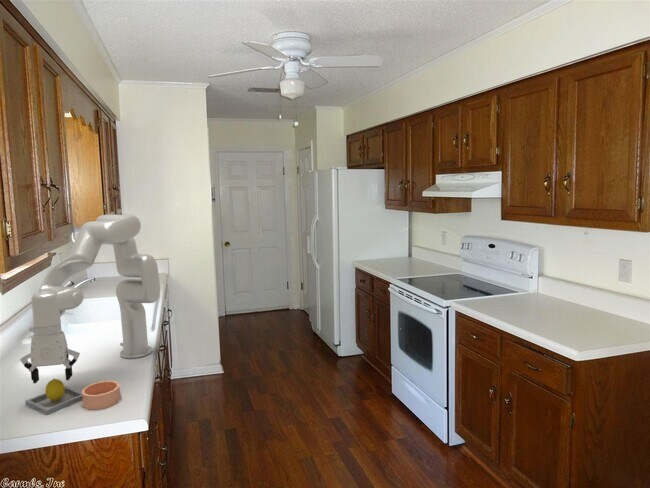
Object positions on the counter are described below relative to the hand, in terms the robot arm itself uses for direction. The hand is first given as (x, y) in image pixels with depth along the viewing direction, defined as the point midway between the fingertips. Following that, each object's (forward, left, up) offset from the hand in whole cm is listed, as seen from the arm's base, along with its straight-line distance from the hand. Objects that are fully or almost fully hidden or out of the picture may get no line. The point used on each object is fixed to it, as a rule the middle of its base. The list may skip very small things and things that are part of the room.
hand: (52, 380), depth 155 cm
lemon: (0, +1, -8) cm, 8 cm away
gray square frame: (0, +1, -8) cm, 8 cm away
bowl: (+13, +9, -8) cm, 17 cm away
